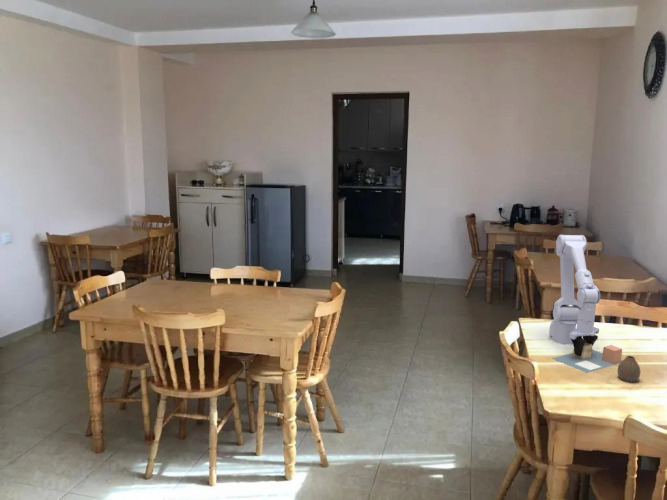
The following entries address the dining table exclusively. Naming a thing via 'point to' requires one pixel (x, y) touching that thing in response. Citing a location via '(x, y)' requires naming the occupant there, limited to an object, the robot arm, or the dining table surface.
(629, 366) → the vase
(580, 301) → the robot arm
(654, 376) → the dining table surface
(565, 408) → the dining table surface
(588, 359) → the build board
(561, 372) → the dining table surface
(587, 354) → the maple block
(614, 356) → the terracotta block
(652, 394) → the dining table surface
